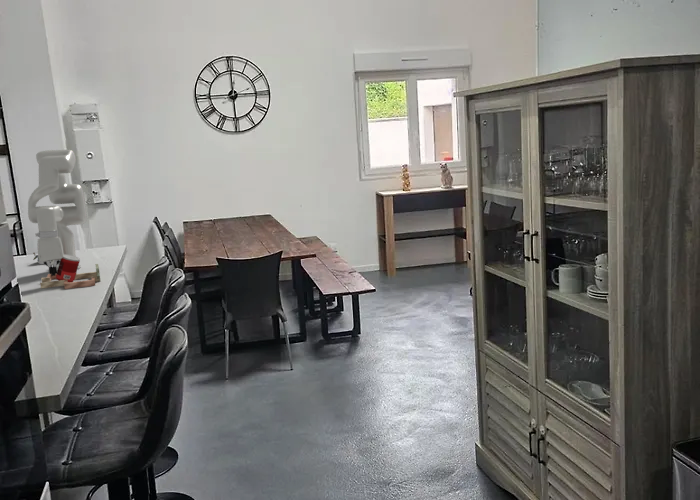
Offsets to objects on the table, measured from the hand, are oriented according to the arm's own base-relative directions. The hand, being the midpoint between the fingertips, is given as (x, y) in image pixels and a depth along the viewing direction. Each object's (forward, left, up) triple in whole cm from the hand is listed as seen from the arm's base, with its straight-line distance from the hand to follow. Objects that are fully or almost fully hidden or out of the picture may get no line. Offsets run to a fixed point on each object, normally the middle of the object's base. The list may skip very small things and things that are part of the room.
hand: (53, 275), depth 289 cm
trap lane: (+5, +5, -4) cm, 8 cm away
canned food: (+3, +3, -3) cm, 5 cm away
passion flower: (-43, +54, -5) cm, 69 cm away
